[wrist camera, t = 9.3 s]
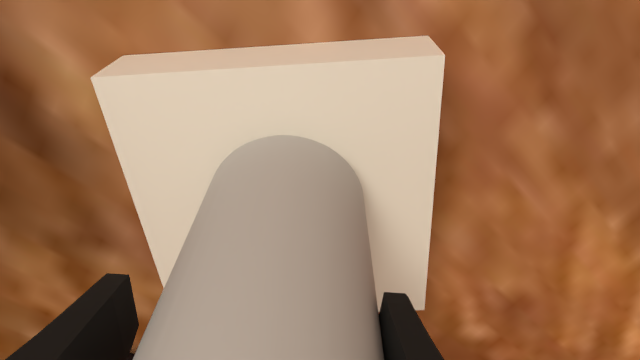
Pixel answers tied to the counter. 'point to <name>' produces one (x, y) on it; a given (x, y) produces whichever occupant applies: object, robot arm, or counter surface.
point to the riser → (284, 119)
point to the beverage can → (272, 263)
